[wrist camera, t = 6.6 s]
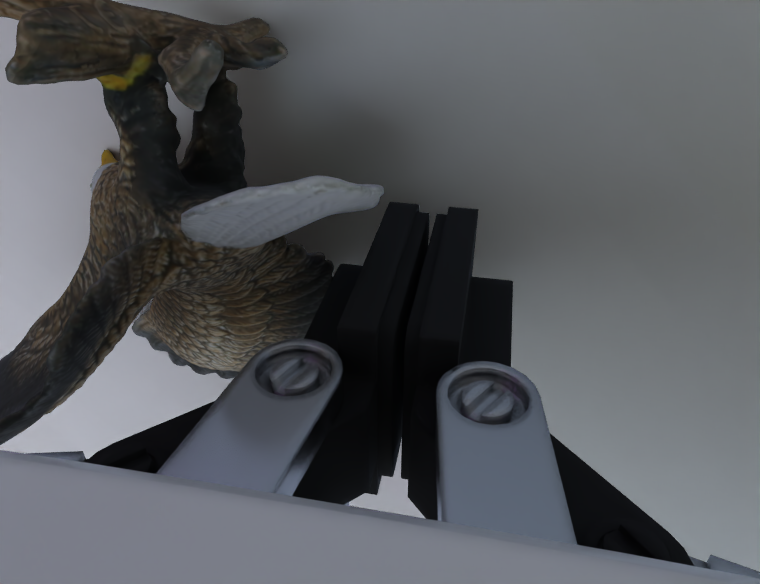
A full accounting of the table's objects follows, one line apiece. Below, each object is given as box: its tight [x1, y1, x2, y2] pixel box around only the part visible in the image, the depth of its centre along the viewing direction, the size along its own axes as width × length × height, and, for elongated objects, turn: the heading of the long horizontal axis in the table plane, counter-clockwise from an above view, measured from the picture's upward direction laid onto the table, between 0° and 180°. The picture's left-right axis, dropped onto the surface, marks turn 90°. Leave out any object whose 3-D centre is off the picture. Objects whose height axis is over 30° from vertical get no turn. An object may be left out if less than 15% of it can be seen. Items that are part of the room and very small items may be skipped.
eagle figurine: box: [0, 0, 384, 445], centre depth 10 cm, size 8×7×9 cm
